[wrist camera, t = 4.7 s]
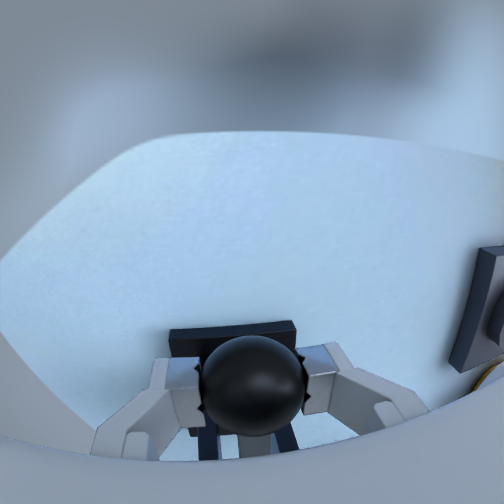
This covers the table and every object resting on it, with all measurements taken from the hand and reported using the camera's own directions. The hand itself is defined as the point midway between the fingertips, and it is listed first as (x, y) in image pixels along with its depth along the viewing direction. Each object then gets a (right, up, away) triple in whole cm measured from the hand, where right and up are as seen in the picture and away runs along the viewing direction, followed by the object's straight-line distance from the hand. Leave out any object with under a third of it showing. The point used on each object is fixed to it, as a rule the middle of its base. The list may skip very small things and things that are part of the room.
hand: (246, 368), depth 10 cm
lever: (0, -4, +2) cm, 4 cm away
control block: (+25, -1, +13) cm, 28 cm away
